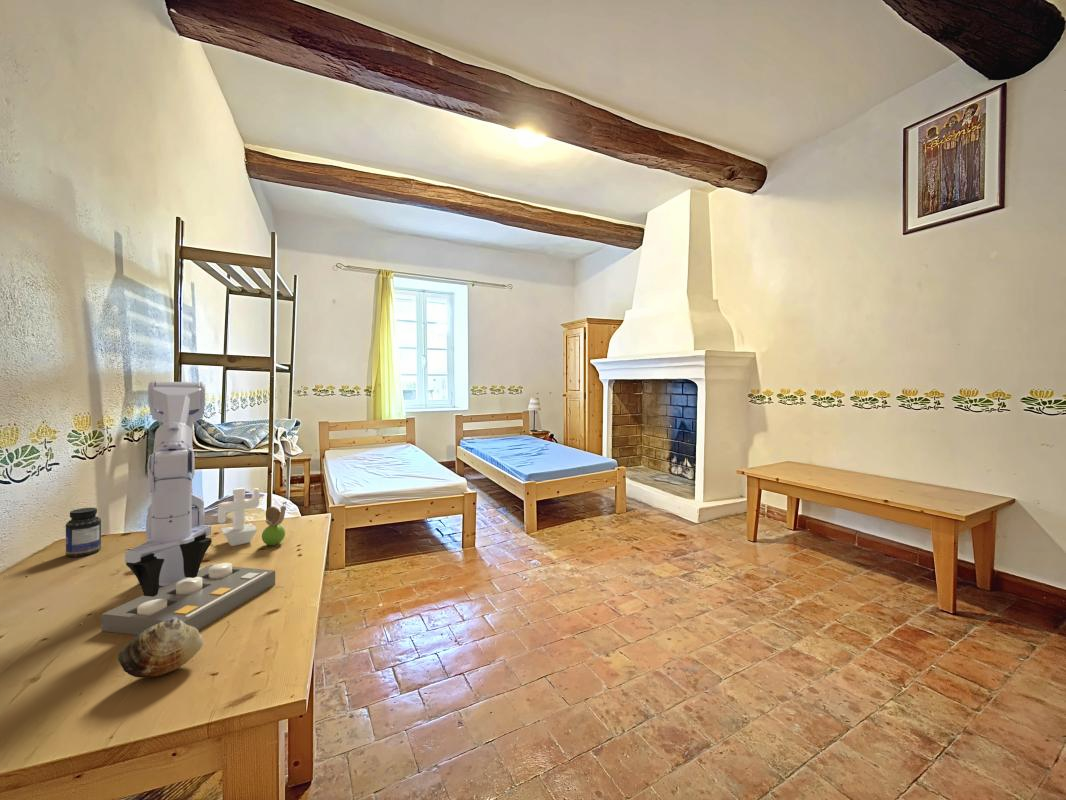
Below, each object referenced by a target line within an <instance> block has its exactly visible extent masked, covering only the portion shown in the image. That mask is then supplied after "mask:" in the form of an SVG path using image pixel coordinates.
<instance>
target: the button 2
mask: <svg viewBox="0 0 1066 800" xmlns="http://www.w3.org/2000/svg"><path fill="white" fill-rule="evenodd" d="M212 565H213V566H211V567H210V568H209V579H218V580H221V579H223V578H225V577H227V576H229V575H231V574H232V567H233V563H231V562H222V563H221V562H220V563H218V564H212Z"/></svg>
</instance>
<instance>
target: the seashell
mask: <svg viewBox="0 0 1066 800" xmlns="http://www.w3.org/2000/svg"><path fill="white" fill-rule="evenodd" d="M199 631H200V630H197V629H196V628H195V627H192V626H189V625H187V624H185V623H184V622H182V621H181V620H180V619H178V618H177V617H172V618H169V619H167V620H165V621H163V622H161V623H158V624H156V625H154V626H152V627H150V628H148V629H147V630H145V631H144V632H142V633H141V634H139V635H136V637H135V638H134V639H133V640H132V641H131V642H129V643H128V644H127V645H126V646H125V647H124V648H122V649H121V650H120V651H119V653H118V655H117V660H118V662H119V664H120V666H121V667H122V670H123V671H124V672H125V673H126V674H127V675H129V676H131V677H133V678H134V677H135V678H139V679H140V678H155V677H161V676H164V675H167V674H169V673H171V672H174V671H175V670H177V669H178V668H181V667H182V666H184V665H185V664H187V663H188V662H189V661H190V660H191V659H192V658H194V657H195V656H196V655H197V653H199V651H200V650H201V648H202V647H203V646H204V638H203V636H202V634H201V633H200V632H199Z"/></svg>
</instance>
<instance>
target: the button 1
mask: <svg viewBox="0 0 1066 800" xmlns="http://www.w3.org/2000/svg"><path fill="white" fill-rule="evenodd" d="M166 607H167V600H166V599H155V600H151V601H147V602H145V603H142V604H141V605H139V606H138V607H137V614H141V615H152V614H154V613H156V612H158V611H160V610H162V609H164V608H166Z"/></svg>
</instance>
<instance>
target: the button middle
mask: <svg viewBox="0 0 1066 800" xmlns="http://www.w3.org/2000/svg"><path fill="white" fill-rule="evenodd" d="M201 589H202V578H201V577H195V578H186V579H183V580H181V581H179V582H177V583H176V595H183V596H190V595H192V594H194V593H196V592H197V591H199V590H201Z"/></svg>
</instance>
